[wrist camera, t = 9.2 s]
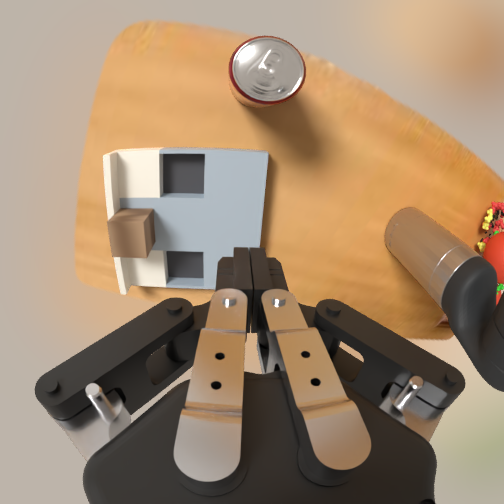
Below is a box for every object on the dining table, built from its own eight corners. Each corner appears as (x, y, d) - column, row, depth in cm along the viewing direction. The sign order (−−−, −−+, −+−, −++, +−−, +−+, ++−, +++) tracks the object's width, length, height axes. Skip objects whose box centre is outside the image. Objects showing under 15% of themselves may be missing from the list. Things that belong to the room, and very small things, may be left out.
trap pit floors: (206, 151, 36) (206, 151, 35) (204, 277, 45) (204, 278, 45) (163, 151, 35) (163, 151, 35) (168, 276, 44) (168, 277, 44)
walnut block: (153, 208, 36) (143, 222, 32) (155, 241, 39) (146, 258, 34) (120, 208, 36) (107, 221, 31) (124, 240, 38) (112, 257, 34)
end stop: (117, 151, 32) (109, 154, 30) (130, 285, 42) (126, 294, 40) (110, 152, 32) (103, 155, 30) (125, 284, 42) (120, 293, 40)
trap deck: (266, 150, 36) (268, 153, 34) (253, 281, 46) (255, 290, 44) (117, 149, 34) (110, 152, 32) (129, 276, 44) (125, 284, 42)
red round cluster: (469, 294, 54) (493, 337, 40) (439, 288, 55) (461, 334, 41) (511, 204, 40) (550, 236, 27) (481, 189, 42) (522, 220, 28)
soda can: (267, 117, 34) (284, 118, 24) (219, 92, 32) (213, 82, 21) (294, 74, 31) (321, 58, 21) (245, 49, 29) (252, 22, 19)
